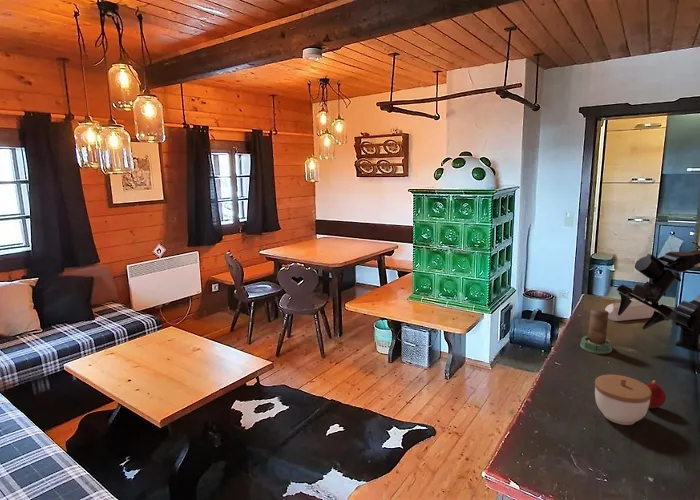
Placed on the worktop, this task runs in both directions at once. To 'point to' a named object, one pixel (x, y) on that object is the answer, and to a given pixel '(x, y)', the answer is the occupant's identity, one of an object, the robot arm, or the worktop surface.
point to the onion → (656, 395)
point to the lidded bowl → (622, 398)
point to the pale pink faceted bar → (630, 311)
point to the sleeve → (598, 326)
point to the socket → (596, 346)
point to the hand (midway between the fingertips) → (630, 321)
